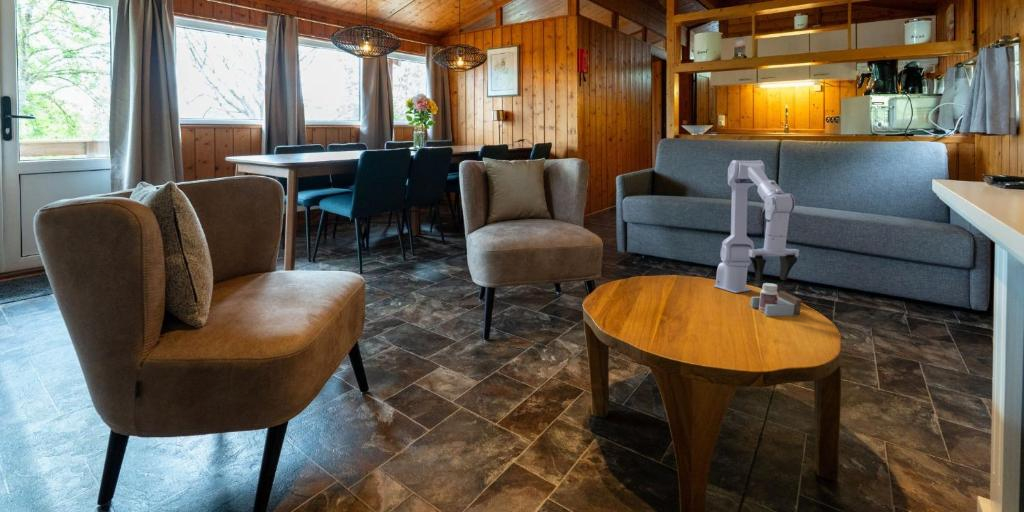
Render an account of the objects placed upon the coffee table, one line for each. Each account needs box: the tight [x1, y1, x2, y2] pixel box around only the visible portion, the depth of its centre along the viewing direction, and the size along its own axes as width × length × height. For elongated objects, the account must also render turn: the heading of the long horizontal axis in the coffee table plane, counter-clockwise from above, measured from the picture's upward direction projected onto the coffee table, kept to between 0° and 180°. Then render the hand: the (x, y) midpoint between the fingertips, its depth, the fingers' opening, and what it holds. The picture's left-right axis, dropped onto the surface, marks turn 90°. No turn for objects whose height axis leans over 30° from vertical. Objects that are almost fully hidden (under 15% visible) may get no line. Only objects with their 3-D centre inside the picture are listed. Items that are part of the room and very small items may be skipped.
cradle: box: [749, 296, 795, 317], centre depth 162 cm, size 8×9×3 cm
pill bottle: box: [758, 282, 779, 314], centre depth 161 cm, size 5×5×8 cm
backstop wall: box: [778, 290, 803, 317], centre depth 162 cm, size 2×9×5 cm, turn 6°
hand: (770, 279), depth 160 cm, fingers open, 7 cm apart
